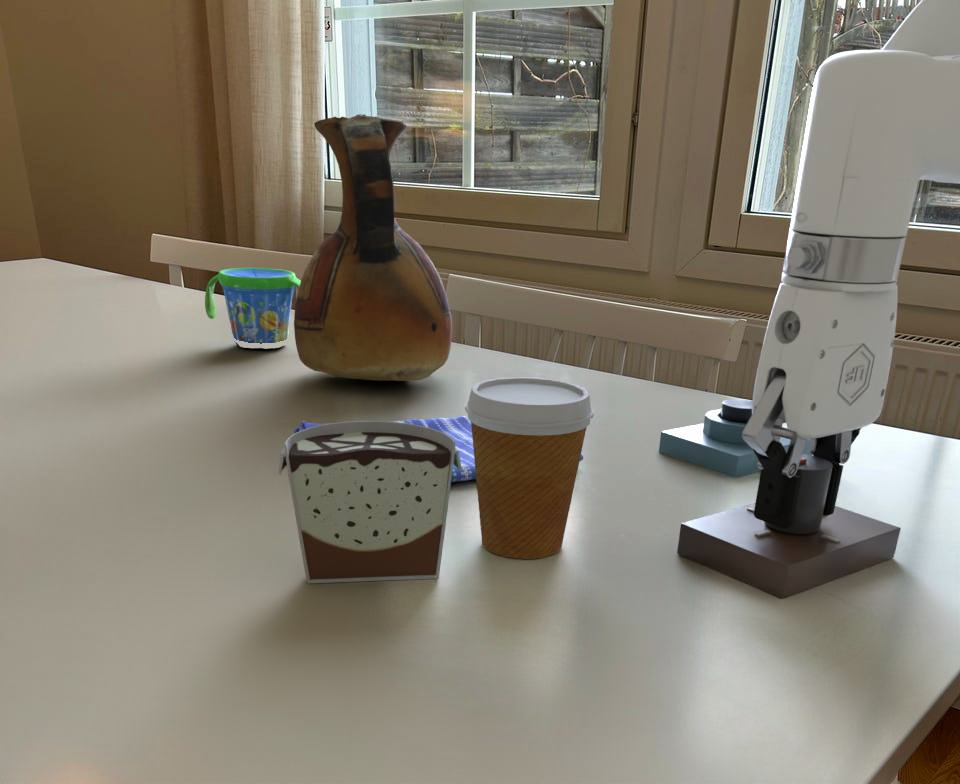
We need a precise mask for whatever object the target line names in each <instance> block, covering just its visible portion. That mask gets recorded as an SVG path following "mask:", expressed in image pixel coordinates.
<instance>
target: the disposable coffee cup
mask: <svg viewBox="0 0 960 784" xmlns="http://www.w3.org/2000/svg"><path fill="white" fill-rule="evenodd" d="M470 389H471V390H470V393H469V396H468V400H466V402H465V403H464V410H465V412H466V413H467V416H468V419H469V420H470V421H471V428H472V439H473V448H474V460H475V471H476V479H475V480H476V493H477V503H478V512H479V513H478V515H479V524H480V525H479V527H480V534H481V545H482V546H483V548H485V550H487V551H489V552H491V553H492V554H495V555H498V556H502V557H506V558H510V559H520V560H521V559H523V560H531V559H532V560H533V559H540V558H547V557H549V556H553V555H556V554H557V553H558V552H560V551H561V549H562V547H563V543H564V538H565V531H566V527H567V523H568V517H569V513H570V508H571V504H572V499H573V495H574V489H575V485H576V480H577V475H578V471H579V465H580V462H581V461H580V456H581V455H582V451H583V447H584V442H585V441H584V440H585V437H586V432H587V429H588V426H590V425H591V419H593V418H594V415H595V409H594V406H592V403H591V398H590V392H589V390H588V389H587V388H585V387H583V386H581V385H579V384H576V383H572V382H568V381H564V380H558V379H552V378H543V377H531V376H527V377H525V376H521V377H517V376H516V377H515V376H514V377H513V376H510V377H499V378H498V377H497V378H491V379H486V380H481V381H478V382H477V383H474V384H473V386H472V387H471V388H470ZM579 461H580V462H579Z"/></svg>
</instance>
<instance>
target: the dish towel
mask: <svg viewBox="0 0 960 784" xmlns="http://www.w3.org/2000/svg"><path fill="white" fill-rule="evenodd" d="M391 422H399V423H407V424H414V425H419V426H424V427H428V428H432V429H435V430H438V431H441V432H443V433H445V434H447V435H448V436H450V437H451V438H452V439H453V440H454V441H455V447H456V448H457V450H458V451H459V456H460V462H461V467H462V471H459V470H458V468H457V467H456V466H454V465H453V470H452V478H451V483H457V482H465V481H470V480H476V471H475V460H474V448H473V439H472V428H471V421H470V420H469V419H468V415H460V416H457V417H456V416H455V417H434V418H424V419H421V418H410V419H406V420H404V421H403V420H393V421H391ZM300 424H301V425H299V426H296V428H295V429H294V430H293V434H295V433H297V432H299V431H301V430H304V429H307V428H311V427H315V426H319V425H325V424H326V423H313V422H308V421H305V420H303V421H301V423H300ZM583 460H584V456H583V454H581V456H580V461H579V463H580V462H582V461H583Z"/></svg>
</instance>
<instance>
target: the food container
mask: <svg viewBox="0 0 960 784" xmlns="http://www.w3.org/2000/svg"><path fill="white" fill-rule="evenodd" d="M324 424H325V425H319V426H315V427H311V428H307V429H304V430H301V431H299V432H297V433H293V434H292V435H290V436H288V438H287V439H286V440H285V441H284V442H285V443H284V448H283V449H282V450H281V454H280V461H279V468H278V475H280V476H281V475H282V472H283V470H284V469H285V468H286V469H287V474H288V480H289V486H290V491H291V497H292V498H291V499H292V504H293V509H294V515H295V521H296V526H297V528H296V529H297V533H298V534H297V535H298V540H299V546H300V551H301V557H302V562H303V568H304V574H305V575H304V576H305V580H306V584H329V583H353V582H358V583H359V582H381V581H382V582H383V581H404V580H407V581H408V580H428V579H429V580H430V579H439V578H440V572H441V564H442V557H443V548H444V541H445V532H446V525H447V516H448V508H449V503H450V502H449V501H450V493H451V485H452V482H451V478H452V470H453V465H454V466H456V467H457V468H458V470H459V471H462V467H461V462H460V456H459V451H458V450H457V448H456V447H455V441H454V440H453V439H452V438H451V437H450V436H448V435H447V434H445V433H443V432H441V431H438V430H435V429H432V428H428V427H424V426H419V425H414V424H407V423H399V422H392V421H385V420H352V421H339V422H332V423H324Z"/></svg>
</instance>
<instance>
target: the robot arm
mask: <svg viewBox="0 0 960 784" xmlns="http://www.w3.org/2000/svg"><path fill="white" fill-rule="evenodd" d="M800 157H801V158H800V163H799V169H798V176H797V181H796V187H795V194H794V200H793V207H792V213H791V219H790V224H789V225H790V226H789V230H788V235H787V236H788V237H787V241H786V248H785V254H784V261H783V267H782V273H781V278H780V281H781V282H780V284H779V287H778V289H777V293H776V296H775V298H774V301H773V305H772V308H771V312H770V315H769V319H768V323H767V326H766V331H765V334H764V337H763V343H762V346H761V351H760V354H759V355H760V356H759V359H758V365H757V370H756V376H755V381H754V387H753V393H752V401H753V402H752V416H751V418H750V419H749V421H748V423H747V425H746V426H745V428H744V430H743V432H742V438H743V440H744V441H745V442H746V443H747V444H748V445H749V446H750V447H751V448H752V449H753V451H754V453H755V454H756V456H757V458H758V460H757V466H758V468H761V472H759V473H760V474H759V480H758V486H757V492H756V498H755V502H754V503H755V509H754V516H755V518H757V519H759V520H762V521H765V522H767V523H770V524H773V525H775V526H778V527H781V528H784V529H786V528H789V527H791V526H792V525H793V521H794V515H795V510H796V505H797V500H798V494H799V489H800V484H801V478H802V477H801V476H798V475H795V474H796V473H797V470H798V467H799V464H800V461H801V457H802V454H803V451H804V448H805V445H806V442H807V439H811V444H810V453H811V454H812V456H816V457H820V458H823V459H825V460H827V461H829V462H831V463H832V465H833V468H832V473H831V478H830V482H829V487H828V492H827V497H826V502H825V507H824V512H823V515H824V516H828V515H831V514H833V512H834V509H835V506H836V503H837V498H838V495H839V490H840V484H841V479H842V475H843V470H844V465H845V464H847V462H848V461H849V459H850V457H851V449H852V445H853V443H854V442H855V440H856V439H857V437H859V435H860V433H861V432H860V431H861V430H862V429H863V428H865V427H868V426H870V425H872V424H873V423H874V422H875V421H877V420H878V419H879V418H880V416H881V413H882V410H883V406H884V402H885V397H886V393H887V386H888V381H889V375H890V370H891V364H892V357H893V352H894V351H893V350H894V345H895V344H894V343H895V336H896V328H897V327H896V326H897V320H898V319H897V317H898V303H899V301H898V300H899V299H898V298H899V297H898V293H899V292H898V291H899V290H898V289H899V288H898V287H899V286H898V284H897V283H898V278H899V273H900V268H901V264H902V258H903V254H904V250H905V245H906V240H907V236H908V231H909V226H910V220H911V217H912V212H913V207H914V203H915V198H916V193H917V188H918V184H919V181H921V180H922V181H932V182H936V183H945V184H960V0H920V1H919V2H918V3H917V4H916V6H915V7H913V9H912V10H911V11H910V12H909V14H908V15H907V16H906V17H905V19H904V20H903V21H902V22H901V23H900V25H899V26H898V27H897V29H896V30H895V31H894V32H893V34H892V35H891V36H890V37H889V39H888V41H887V42H886V43H885V44H884V45H883V47H882V48H881V49H855V50H854V49H853V50H847V51H840V52H837V53H835V54H832V55H830V56H829V57H828V58H826V59H825V60H823V62H822V63H821V65H820V66H819V68H818V70H817V71H816V74H815V77H814V81H813V87H812V91H811V97H810V103H809V108H808V114H807V120H806V126H805V133H804V139H803V145H802V150H801V156H800ZM784 424H786V427H787V428H786V427H784V426H783V425H784ZM780 437H783V438H787V439H790V440H791V441H790V444H789V447H788V451H787V453H786V451H785V449H784V447H783V445H782V444H781V443H780V442H779V440H780Z"/></svg>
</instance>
